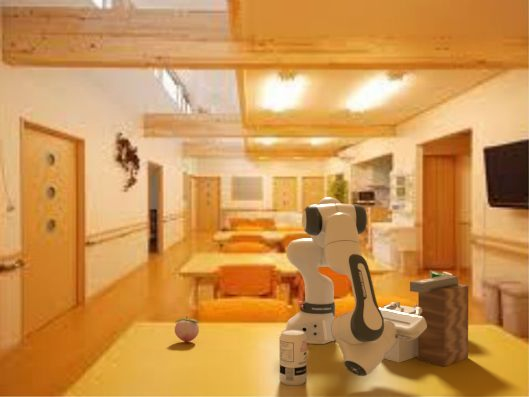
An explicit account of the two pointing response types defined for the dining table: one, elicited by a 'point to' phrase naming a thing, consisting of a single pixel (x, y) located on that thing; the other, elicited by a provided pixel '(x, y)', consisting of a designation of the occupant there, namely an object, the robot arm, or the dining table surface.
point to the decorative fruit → (186, 329)
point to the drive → (433, 283)
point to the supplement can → (293, 357)
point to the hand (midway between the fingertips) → (407, 306)
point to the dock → (403, 341)
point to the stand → (444, 325)
